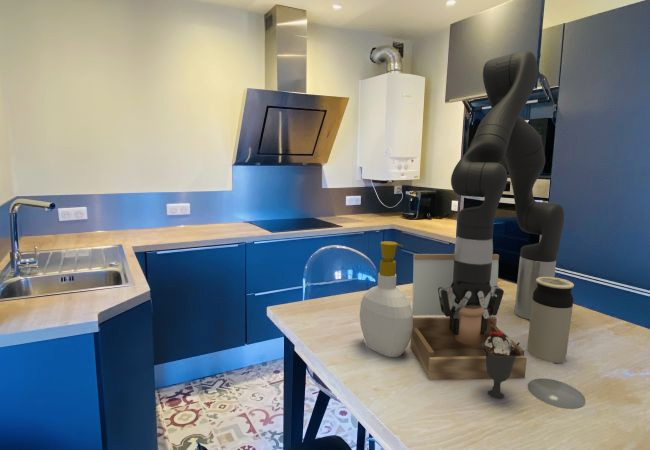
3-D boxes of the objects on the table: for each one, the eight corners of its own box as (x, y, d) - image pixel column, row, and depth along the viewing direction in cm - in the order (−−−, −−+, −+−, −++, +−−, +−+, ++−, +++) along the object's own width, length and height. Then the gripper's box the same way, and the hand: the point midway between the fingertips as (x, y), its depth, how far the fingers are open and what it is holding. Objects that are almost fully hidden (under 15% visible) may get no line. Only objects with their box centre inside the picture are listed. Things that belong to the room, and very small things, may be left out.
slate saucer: (562, 381, 82) (563, 377, 82) (597, 410, 73) (597, 406, 72) (517, 382, 81) (518, 378, 81) (546, 412, 72) (547, 408, 72)
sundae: (470, 387, 79) (477, 316, 77) (503, 387, 80) (510, 315, 77) (486, 408, 73) (494, 331, 70) (522, 407, 73) (530, 330, 71)
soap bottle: (421, 355, 92) (428, 245, 87) (396, 368, 86) (403, 250, 81) (375, 334, 102) (379, 234, 98) (350, 344, 97) (353, 238, 92)
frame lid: (496, 314, 94) (495, 313, 94) (498, 254, 93) (497, 254, 94) (413, 315, 92) (412, 314, 93) (414, 254, 91) (413, 254, 92)
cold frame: (491, 348, 96) (494, 316, 95) (524, 380, 82) (528, 344, 81) (410, 349, 94) (411, 317, 93) (429, 382, 81) (431, 345, 79)
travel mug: (551, 367, 87) (561, 289, 84) (519, 351, 94) (527, 278, 91) (573, 359, 91) (583, 284, 88) (540, 345, 98) (549, 274, 95)
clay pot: (474, 332, 91) (477, 298, 89) (486, 345, 85) (489, 308, 83) (448, 333, 90) (450, 298, 89) (459, 346, 84) (461, 309, 83)
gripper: (497, 253, 88) (490, 325, 91) (433, 254, 87) (429, 326, 90) (515, 262, 81) (508, 340, 84) (446, 263, 80) (441, 342, 83)
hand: (467, 332), depth 87 cm, fingers closed on clay pot, 5 cm apart
